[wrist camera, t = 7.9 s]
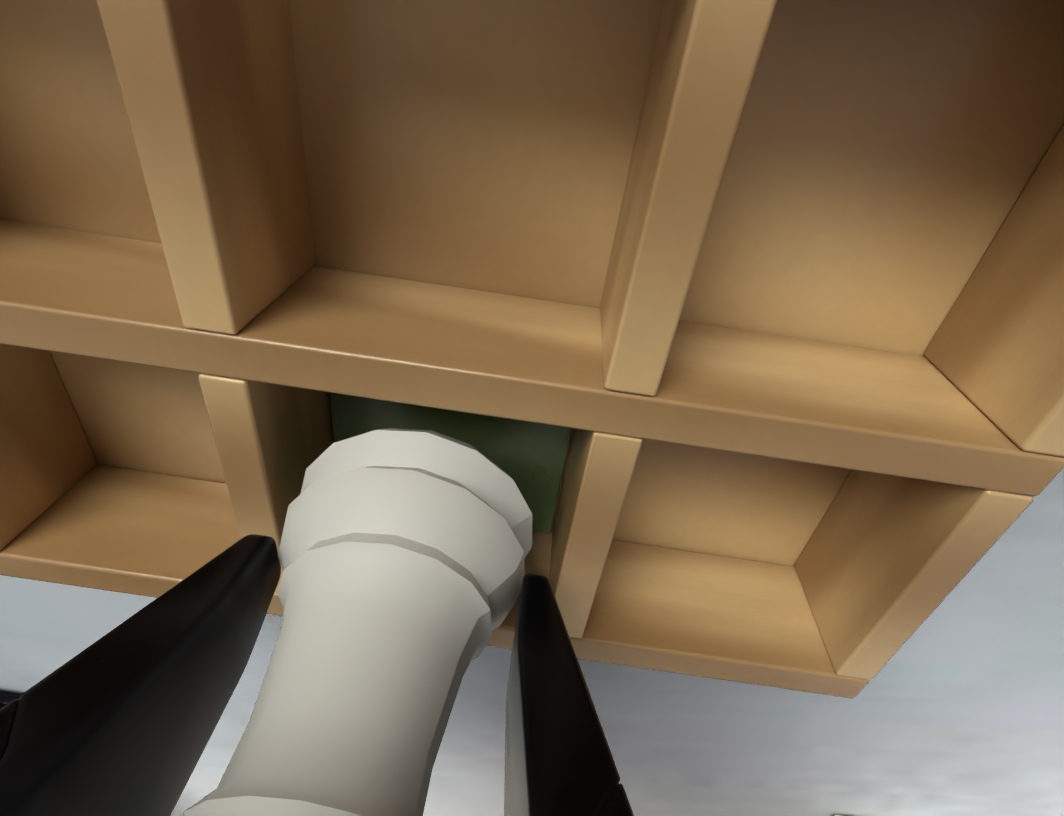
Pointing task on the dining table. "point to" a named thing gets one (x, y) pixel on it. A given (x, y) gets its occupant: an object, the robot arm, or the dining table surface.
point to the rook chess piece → (376, 625)
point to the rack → (546, 294)
